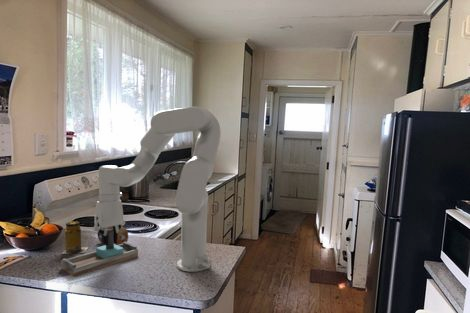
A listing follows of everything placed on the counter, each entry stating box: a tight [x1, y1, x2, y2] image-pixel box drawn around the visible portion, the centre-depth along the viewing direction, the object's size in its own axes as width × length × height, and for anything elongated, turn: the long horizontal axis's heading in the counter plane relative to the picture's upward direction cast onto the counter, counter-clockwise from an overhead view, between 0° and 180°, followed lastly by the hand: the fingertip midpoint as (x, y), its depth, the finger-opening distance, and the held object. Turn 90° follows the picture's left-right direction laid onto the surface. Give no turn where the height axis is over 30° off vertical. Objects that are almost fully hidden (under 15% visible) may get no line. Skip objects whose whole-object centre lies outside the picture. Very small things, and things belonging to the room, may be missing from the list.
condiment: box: [61, 220, 89, 255], centre depth 147 cm, size 7×8×12 cm
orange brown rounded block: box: [97, 226, 129, 245], centre depth 156 cm, size 15×3×8 cm, turn 70°
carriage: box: [95, 229, 124, 259], centre depth 139 cm, size 8×7×10 cm
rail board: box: [60, 241, 139, 278], centre depth 136 cm, size 10×26×4 cm, turn 140°
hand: (109, 243), depth 139 cm, fingers closed on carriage, 3 cm apart
